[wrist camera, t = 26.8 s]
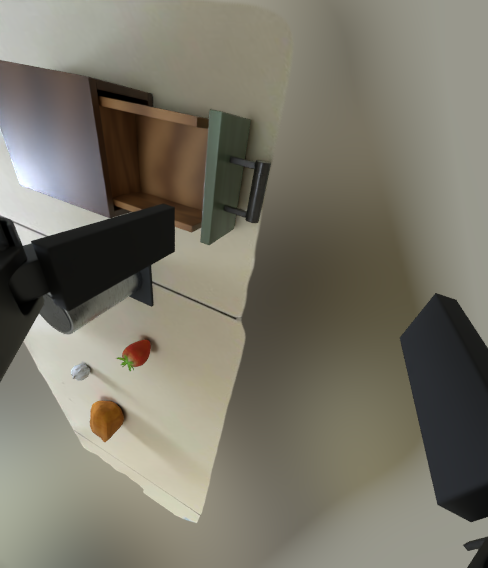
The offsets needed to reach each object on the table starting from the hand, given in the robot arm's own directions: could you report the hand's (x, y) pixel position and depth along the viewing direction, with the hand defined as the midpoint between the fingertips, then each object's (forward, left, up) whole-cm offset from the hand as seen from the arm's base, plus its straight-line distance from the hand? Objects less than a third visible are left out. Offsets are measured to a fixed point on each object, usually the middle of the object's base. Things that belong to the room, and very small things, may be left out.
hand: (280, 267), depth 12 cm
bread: (+100, +30, -19) cm, 106 cm away
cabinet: (+23, -23, -19) cm, 37 cm away
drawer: (+11, -11, -18) cm, 24 cm away
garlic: (+90, +10, -19) cm, 92 cm away
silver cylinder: (+38, -7, -18) cm, 43 cm away
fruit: (+49, +9, -19) cm, 53 cm away
